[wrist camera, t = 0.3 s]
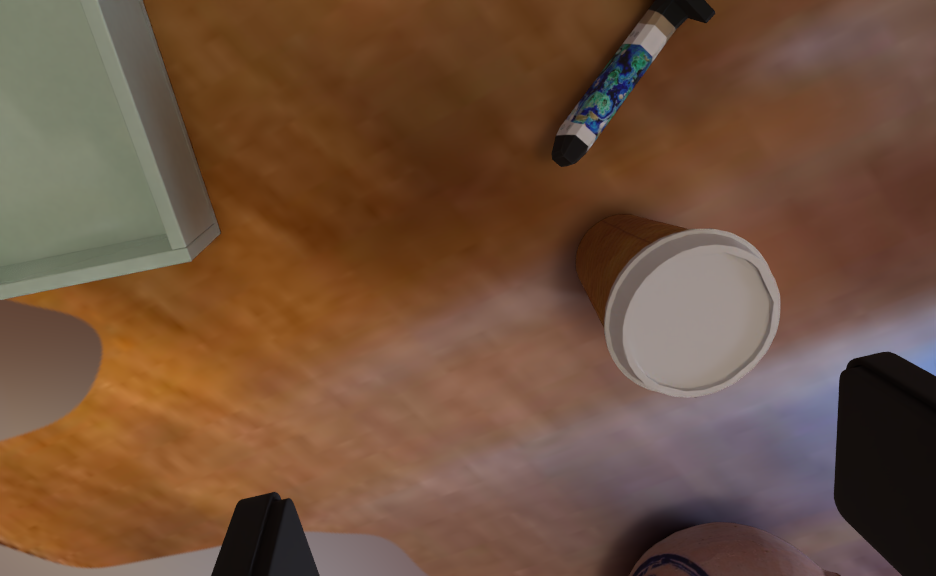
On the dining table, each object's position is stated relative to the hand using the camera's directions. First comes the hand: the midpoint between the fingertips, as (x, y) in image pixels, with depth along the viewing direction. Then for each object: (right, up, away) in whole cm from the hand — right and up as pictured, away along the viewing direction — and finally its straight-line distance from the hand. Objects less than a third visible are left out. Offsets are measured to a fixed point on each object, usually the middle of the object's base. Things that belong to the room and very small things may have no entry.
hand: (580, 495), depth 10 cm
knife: (+12, +24, +26) cm, 37 cm away
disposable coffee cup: (+9, +6, +32) cm, 34 cm away
